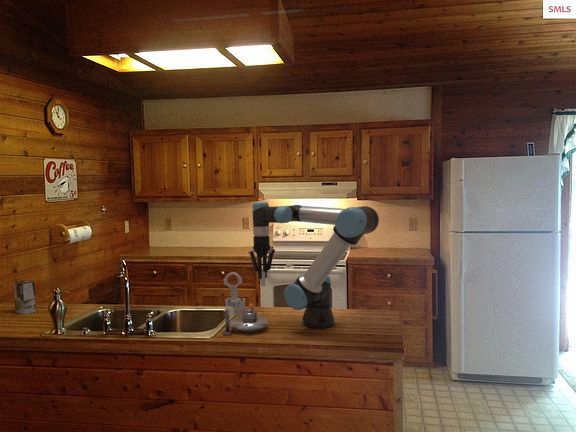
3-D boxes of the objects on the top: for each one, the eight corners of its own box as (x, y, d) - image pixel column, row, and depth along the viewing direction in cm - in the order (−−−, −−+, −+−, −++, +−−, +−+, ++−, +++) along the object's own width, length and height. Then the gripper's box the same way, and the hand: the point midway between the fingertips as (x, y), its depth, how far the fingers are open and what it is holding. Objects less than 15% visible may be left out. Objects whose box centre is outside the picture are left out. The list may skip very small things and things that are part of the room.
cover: (260, 319, 214) (260, 308, 214) (251, 323, 208) (251, 312, 208) (247, 318, 218) (247, 306, 218) (238, 321, 212) (238, 310, 212)
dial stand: (225, 335, 205) (225, 309, 204) (221, 333, 208) (220, 307, 207) (234, 333, 207) (234, 307, 206) (230, 331, 210) (229, 306, 210)
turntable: (275, 322, 215) (275, 306, 215) (251, 332, 201) (251, 314, 201) (246, 317, 225) (246, 301, 225) (222, 326, 211) (221, 309, 211)
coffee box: (36, 311, 250) (35, 281, 249) (24, 314, 244) (22, 283, 243) (27, 309, 255) (25, 280, 254) (14, 312, 249) (13, 282, 248)
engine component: (243, 314, 239) (246, 309, 249) (242, 274, 238) (246, 270, 248) (222, 314, 240) (226, 309, 250) (221, 274, 239) (225, 270, 249)
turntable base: (267, 328, 215) (267, 323, 215) (251, 335, 205) (251, 330, 205) (247, 324, 222) (247, 320, 222) (230, 330, 212) (230, 326, 212)
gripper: (251, 236, 214) (252, 288, 215) (277, 235, 220) (278, 285, 221) (245, 235, 221) (246, 285, 222) (270, 233, 226) (272, 282, 228)
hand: (262, 285), depth 221 cm, fingers closed
